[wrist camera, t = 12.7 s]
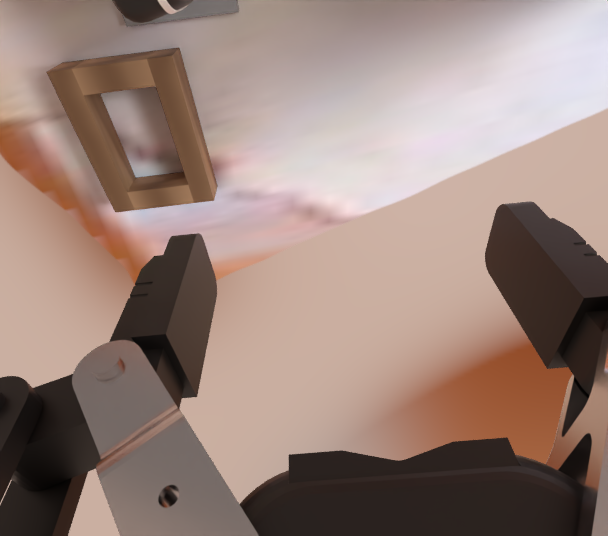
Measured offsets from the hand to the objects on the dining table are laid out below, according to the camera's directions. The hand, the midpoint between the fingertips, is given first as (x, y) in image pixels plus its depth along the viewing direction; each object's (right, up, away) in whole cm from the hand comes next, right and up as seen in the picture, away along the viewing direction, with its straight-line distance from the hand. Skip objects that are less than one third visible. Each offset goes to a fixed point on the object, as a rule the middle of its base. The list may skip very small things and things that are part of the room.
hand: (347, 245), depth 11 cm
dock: (-16, +12, +26) cm, 33 cm away
